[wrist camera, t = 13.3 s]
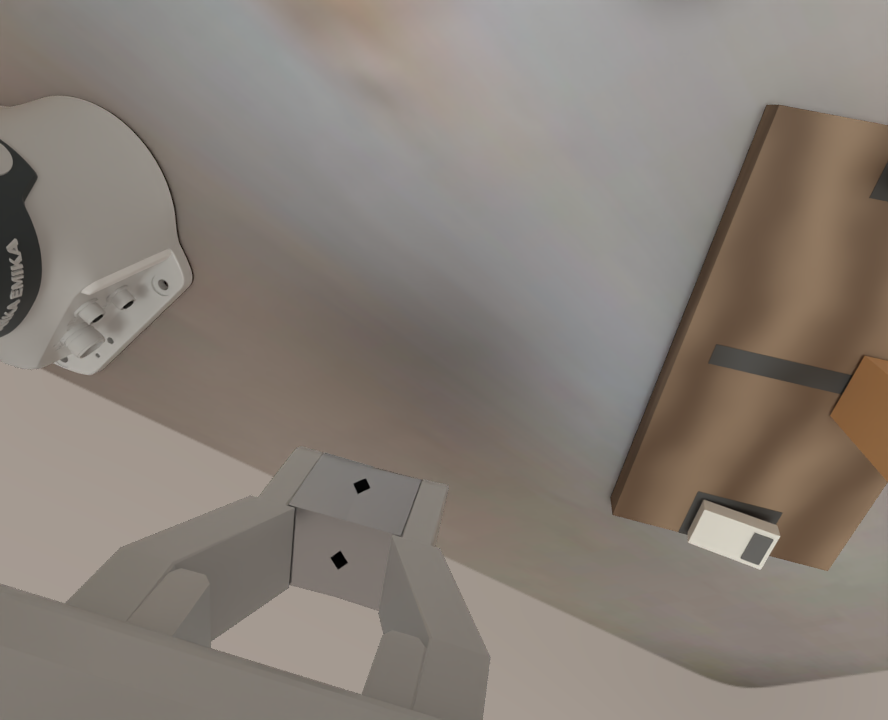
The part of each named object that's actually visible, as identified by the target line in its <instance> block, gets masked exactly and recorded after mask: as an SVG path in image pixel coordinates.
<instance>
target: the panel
mask: <svg viewBox="0 0 888 720" xmlns="http://www.w3.org/2000/svg"><path fill="white" fill-rule="evenodd" d="M864 356H869V357H873V358H877V359H882V360H886V361H888V125H883V124H878V123H872V122H867V121H862V120H857V119H851V118H846V117H841V116H835V115H830V114H825V113H819V112H814V111H809V110H804V109H798V108H793V107H788V106H782V105H767V106H766V108H765V111H764V113H763V116H762V118H761V121H760V123H759V126H758V128H757V131H756V133H755V136H754V138H753V141H752V143H751V146H750V148H749V151H748V153H747V156H746V158H745V161H744V163H743V166H742V169H741V171H740V174H739V176H738V179H737V181H736V184H735V186H734V189H733V191H732V194H731V196H730V199H729V201H728V204H727V206H726V209H725V211H724V214H723V216H722V219H721V221H720V224H719V226H718V229H717V231H716V234H715V236H714V239H713V241H712V244H711V247H710V249H709V252H708V254H707V257H706V259H705V262H704V264H703V267H702V269H701V272H700V274H699V277H698V279H697V282H696V284H695V287H694V289H693V292H692V294H691V297H690V299H689V302H688V304H687V307H686V309H685V312H684V314H683V317H682V319H681V322H680V325H679V327H678V330H677V332H676V335H675V337H674V340H673V342H672V345H671V347H670V350H669V352H668V355H667V357H666V360H665V362H664V365H663V367H662V370H661V372H660V375H659V377H658V380H657V382H656V385H655V387H654V390H653V392H652V395H651V397H650V400H649V403H648V405H647V408H646V410H645V413H644V415H643V418H642V420H641V423H640V425H639V428H638V430H637V433H636V435H635V438H634V440H633V443H632V445H631V448H630V450H629V453H628V455H627V458H626V460H625V463H624V465H623V468H622V470H621V473H620V475H619V478H618V481H617V483H616V486H615V488H614V491H613V493H612V496H611V506H612V514H613V515H615V516H619V517H623V518H627V519H631V520H635V521H638V522H642V523H646V524H650V525H654V526H657V527H661V528H665V529H669V530H673V531H677V532H679V533H683V534H687V535H688V530H689V528H690V526H691V524H692V522H693V520H694V518H695V516H696V514H697V512H698V510H699V508H700V506H701V504H702V502H703V500H707V501H709V502H712V503H715V504H718V505H721V506H724V507H726V508H729V509H732V510H735V511H738V512H741V513H743V514H746V515H749V516H752V517H755V518H758V519H760V520H763V521H766V522H769V523H772V524H775V525H777V526H778V529H779V533H780V538H779V540H778V541H777V543H776V545H775V546H774V548H773V550H772V551H771V553H770V555H769V556H772V557H776V558H780V559H784V560H787V561H791V562H795V563H799V564H803V565H806V566H810V567H814V568H818V569H822V570H826V571H828V570H829V568H830V567H831V565H832V564H833V562H834V561H835V560H836V558H837V557H838V555H839V554H840V552H841V551H842V549H843V548H844V546H845V545H846V543H847V542H848V540H849V539H850V537H851V536H852V534H853V533H854V531H855V530H856V528H857V527H858V525H859V524H860V523H861V521H862V520H863V518H864V517H865V515H866V514H867V512H868V511H869V509H870V508H871V506H872V505H873V503H874V502H875V500H876V499H877V497H878V496H879V494H880V493H881V491H882V490H883V488H884V487H885V486H886V484H887V483H888V482H887V481H886V480H885V478H884V477H883V476H882V475H881V474H880V473H879V472H878V470H877V469H876V468H875V467H874V466H873V465H872V463H871V462H870V461H869V460H868V459H867V458H866V457H865V455H864V454H863V453H862V452H861V451H860V450H859V449H858V447H857V446H856V445H855V444H854V443H853V442H852V440H851V439H850V438H849V437H848V436H847V435H846V434H845V432H844V431H843V430H842V429H841V428H840V427H839V425H838V424H837V423H836V422H835V421H834V420H833V419H832V417H831V416H830V415H831V413H832V411H833V410H834V408H835V406H836V405H837V403H838V401H839V399H840V398H841V396H842V394H843V392H844V391H845V389H846V387H847V385H848V384H849V382H850V380H851V379H852V377H853V375H854V373H855V372H856V370H857V368H858V366H859V365H860V363H861V361H862V359H863V358H864Z"/></svg>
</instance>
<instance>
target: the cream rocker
mask: <svg viewBox="0 0 888 720" xmlns="http://www.w3.org/2000/svg"><path fill="white" fill-rule="evenodd" d="M779 538H780V533H779V529H778V526H777V525H775V524H772V523H769V522H766V521H763V520H760V519H758V518H755V517H752V516H749V515H746V514H743V513H741V512H738V511H735V510H732V509H729V508H726V507H724V506H721V505H718V504H715V503H712V502H709V501H707V500H703V502H702V504H701V506H700V508H699V510H698V512H697V514H696V516H695V518H694V520H693V522H692V524H691V526H690V528H689V530H688V543H690V544H693V545H696V546H698V547H701V548H704V549H706V550H709V551H712V552H714V553H717V554H720V555H722V556H725V557H728V558H731V559H733V560H736V561H739V562H741V563H744V564H747V565H749V566H752V567H755V568H757V569H760V570H761V568H762V566H763V565H764V563H765V561H766V560H767V558H768V556H769V555H770V553H771V551H772V550H773V548H774V546H775V545H776V543H777V541H778V540H779Z"/></svg>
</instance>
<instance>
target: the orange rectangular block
mask: <svg viewBox="0 0 888 720" xmlns="http://www.w3.org/2000/svg"><path fill="white" fill-rule="evenodd" d="M830 416H831V417H832V419H833V420H834V421H835V422H836V423H837V424H838V425H839V427H840V428H841V429H842V430H843V431H844V432H845V434H846V435H847V436H848V437H849V438H850V439H851V440H852V442H853V443H854V444H855V445H856V446H857V447H858V449H859V450H860V451H861V452H862V453H863V454H864V455H865V457H866V458H867V459H868V460H869V461H870V462H871V463H872V465H873V466H874V467H875V468H876V469H877V470H878V472H879V473H880V474H881V475H882V476H883V477H884V478H885V480H886V481H887V482H888V361H886V360H882V359H877V358H873V357H869V356H864V358H863V359H862V361H861V363H860V365H859V366H858V368H857V370H856V372H855V373H854V375H853V377H852V379H851V380H850V382H849V384H848V385H847V387H846V389H845V391H844V392H843V394H842V396H841V398H840V399H839V401H838V403H837V405H836V406H835V408H834V410H833V411H832V413H831V415H830Z"/></svg>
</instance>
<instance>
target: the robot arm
mask: <svg viewBox="0 0 888 720" xmlns="http://www.w3.org/2000/svg"><path fill="white" fill-rule="evenodd" d="M164 280H165V281H166V282H167V283H168V287H167V286H166V285H165V283H164ZM191 283H192V271H191V268H190V266H189V263H188V261H187V258H186V256H185V254H184V252H183V250H182V248H181V246H180V244H179V241H178V236H177V230H176V220H175V212H174V206H173V202H172V198H171V195H170V191H169V188H168V186H167V183H166V181H165V178H164V176H163V174H162V172H161V170H160V168H159V166H158V164H157V162H156V161H155V159H154V158H153V156H152V154H151V153H150V152H149V150H148V149H147V147H146V146H145V145H144V144H143V142H142V141H141V140H140V139H139V138H138V136H137V135H136V134H135V133H134V132H133V131H132V130H131V129H130V128H129V127H128V126H127V125H125V124H124V123H123V122H122V121H121V120H119V119H118V118H117V117H115V116H114V115H113V114H111V113H110V112H108V111H106V110H105V109H103V108H101V107H99V106H97V105H95V104H93V103H91V102H88V101H85V100H83V99H79V98H75V97H70V96H48V97H43V98H40V99H37V100H34V101H31V102H28V103H24V104H21V105H17V106H12V107H8V106H1V105H0V361H1V362H3V363H5V364H8V365H11V366H14V367H17V368H21V369H30V370H31V369H39V368H43V367H45V366H48V365H50V364H52V363H54V364H56V365H58V366H60V367H62V368H65V369H67V370H70V371H73V372H76V373H80V374H85V375H92V374H95V373H97V372H100V371H101V370H102V369H104V368H105V367H106V366H107V365H108V364H109V363H110V362H111V361H112V360H113V359H114V358H115V357H116V356H117V355H119V354H120V353H121V352H122V351H123V350H124V349H125V348H126V347H127V346H128V345H129V344H130V343H131V342H132V341H133V340H134V339H135V338H136V337H137V336H138V335H139V334H140V333H141V332H142V331H144V330H145V329H146V328H147V327H148V326H149V325H150V324H151V323H152V322H153V321H154V320H155V319H156V318H157V317H158V316H159V315H160V314H161V313H162V312H163V311H164V310H165V309H166V308H167V307H169V306H170V305H171V304H172V303H173V302H174V301H175V300H176V299H177V298H178V297H179V296H180V295H181V294H182V293H183V292H184V291H185V290H186V289H187V288H188V287H189V286H190V285H191ZM448 489H449V487H448V485H445V484H441V483H437V482H433V481H429V480H421V479H418V478H414V477H410V476H406V475H402V474H398V473H395V472H391V471H387V470H383V469H379V468H375V467H373V466H369V465H366V464H362V463H359V462H355V461H352V460H349V459H345V458H342V457H338V456H335V455H331V454H328V453H323V452H320V451H316V450H313V449H309V448H306V447H302V446H300V447H298V448H296V449H295V450H294V451H293V452H292V454H291V455H290V456H289V458H288V459H287V460H286V461H285V463H284V464H283V465H282V467H281V468H280V469H279V471H278V472H277V473H276V474H275V476H274V477H273V478H272V480H271V481H270V482H269V484H268V485H267V486H266V487H265V489H264V490H263V491H262V493H261V494H260V495H259V497H254V496H248V497H246V498H243V499H240V500H238V501H236V502H233V503H230V504H228V505H226V506H223V507H220V508H218V509H215V510H213V511H210V512H208V513H205V514H203V515H201V516H198V517H195V518H193V519H190V520H188V521H185V522H183V523H180V524H178V525H175V526H173V527H170V528H168V529H165V530H163V531H160V532H158V533H155V534H153V535H150V536H148V537H145V538H143V539H140V540H138V541H135V542H133V543H130V544H128V545H125V546H123V547H121V548H119V550H117V552H115V553H114V554H113V555H112V557H110V559H108V560H107V561H106V562H105V564H103V566H101V567H100V568H99V570H97V571H96V573H95V574H94V575H93V576H92V577H91V578H90V579H89V580H88V581H87V582H86V583H85V584H84V585H83V586H82V587H81V588H80V589H79V590H78V591H77V592H76V593H75V594H74V595H73V596H72V597H71V598H70V599H69V600H68V601H67V602H66V603H62V602H59V601H55V600H52V599H49V598H46V597H42V596H39V595H36V594H32V593H29V592H26V591H23V590H19V589H16V588H13V587H10V586H6V585H3V584H0V720H483V713H484V704H485V697H486V689H487V680H488V672H489V664H490V655H489V653H488V651H487V649H486V647H485V644H484V642H483V640H482V638H481V636H480V634H479V631H478V629H477V627H476V625H475V623H474V621H473V619H472V616H471V614H470V612H469V610H468V608H467V606H466V604H465V601H464V599H463V597H462V595H461V593H460V591H459V588H458V586H457V584H456V582H455V580H454V578H453V576H452V573H451V571H450V569H449V567H448V565H447V563H446V560H445V558H444V556H443V554H442V552H441V550H440V548H438V547H435V546H436V542H437V537H438V533H439V529H440V524H441V520H442V516H443V512H444V507H445V503H446V499H447V494H448ZM289 585H292V586H296V587H299V588H303V589H307V590H311V591H315V592H319V593H323V594H327V595H330V596H334V597H337V598H340V599H343V600H347V601H349V602H353V603H356V604H359V605H362V606H365V607H368V608H371V609H374V610H378V611H379V613H378V614H379V618H380V622H381V626H382V630H383V635H382V638H381V641H380V644H379V646H378V649H377V652H376V655H375V658H374V661H373V663H372V666H371V670H370V672H369V675H368V678H367V680H366V683H365V686H364V689H363V692H362V694H358V693H355V692H352V691H348V690H345V689H342V688H339V687H335V686H332V685H329V684H326V683H322V682H319V681H316V680H313V679H309V678H306V677H303V676H300V675H296V674H293V673H290V672H287V671H283V670H280V669H277V668H274V667H270V666H267V665H264V664H260V663H257V662H254V661H251V660H248V659H244V658H241V657H238V656H235V655H231V654H228V653H225V652H221V651H218V650H215V649H212V648H211V641H212V640H214V639H215V638H217V637H218V636H220V635H221V634H222V633H224V632H226V631H227V630H228V629H229V628H231V627H233V626H234V625H236V624H237V623H238V622H240V621H241V620H243V619H244V618H246V617H247V616H249V615H250V614H252V613H253V612H255V611H256V610H257V609H259V608H260V607H262V606H263V605H264V604H266V603H268V602H269V601H270V600H272V599H273V598H275V597H276V596H278V595H279V594H281V593H282V592H283V591H285V590H286V589H288V588H289Z"/></svg>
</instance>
